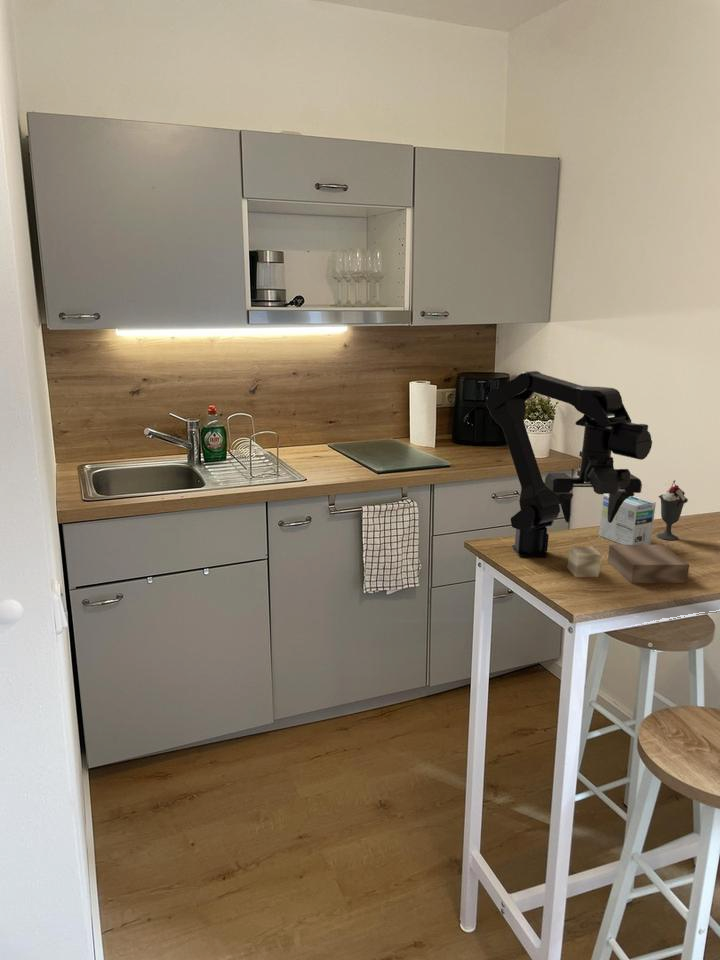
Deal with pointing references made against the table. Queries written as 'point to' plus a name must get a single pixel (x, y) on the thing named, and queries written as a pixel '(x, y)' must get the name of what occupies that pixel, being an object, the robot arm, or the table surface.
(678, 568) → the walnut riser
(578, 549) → the maple cube
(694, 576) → the table surface
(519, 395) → the robot arm
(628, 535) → the light bulb box
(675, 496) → the sundae
